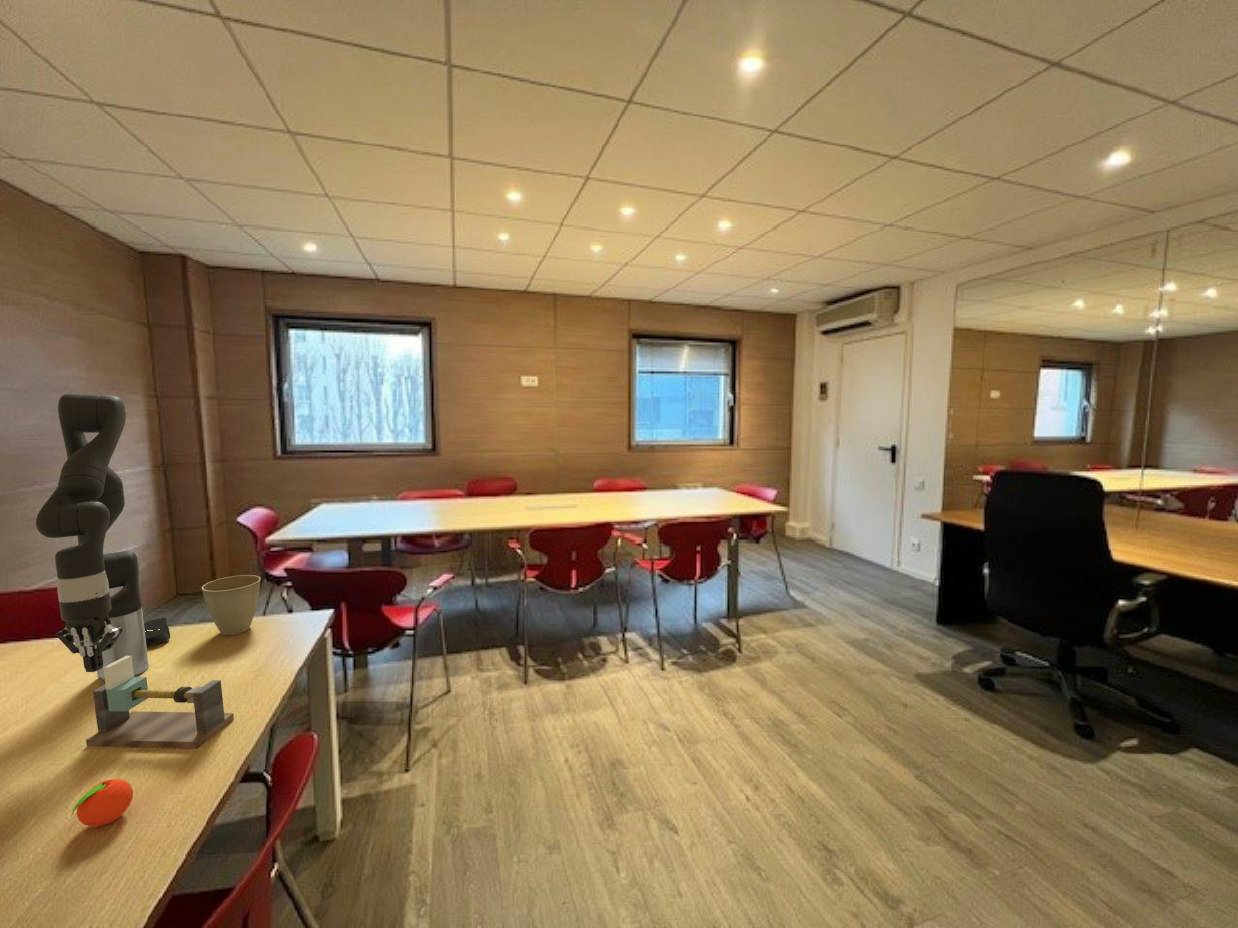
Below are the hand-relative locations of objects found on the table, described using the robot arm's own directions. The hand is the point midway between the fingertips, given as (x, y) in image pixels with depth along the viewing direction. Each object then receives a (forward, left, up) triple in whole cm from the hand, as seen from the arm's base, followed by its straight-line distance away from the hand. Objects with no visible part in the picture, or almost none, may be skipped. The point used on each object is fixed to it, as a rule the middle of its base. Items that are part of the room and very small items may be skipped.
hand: (94, 670), depth 111 cm
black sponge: (-31, +44, -15) cm, 56 cm away
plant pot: (-9, +50, -15) cm, 53 cm away
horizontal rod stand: (+14, 0, -14) cm, 20 cm away
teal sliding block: (+7, 0, -8) cm, 10 cm away
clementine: (+26, -24, -15) cm, 38 cm away
